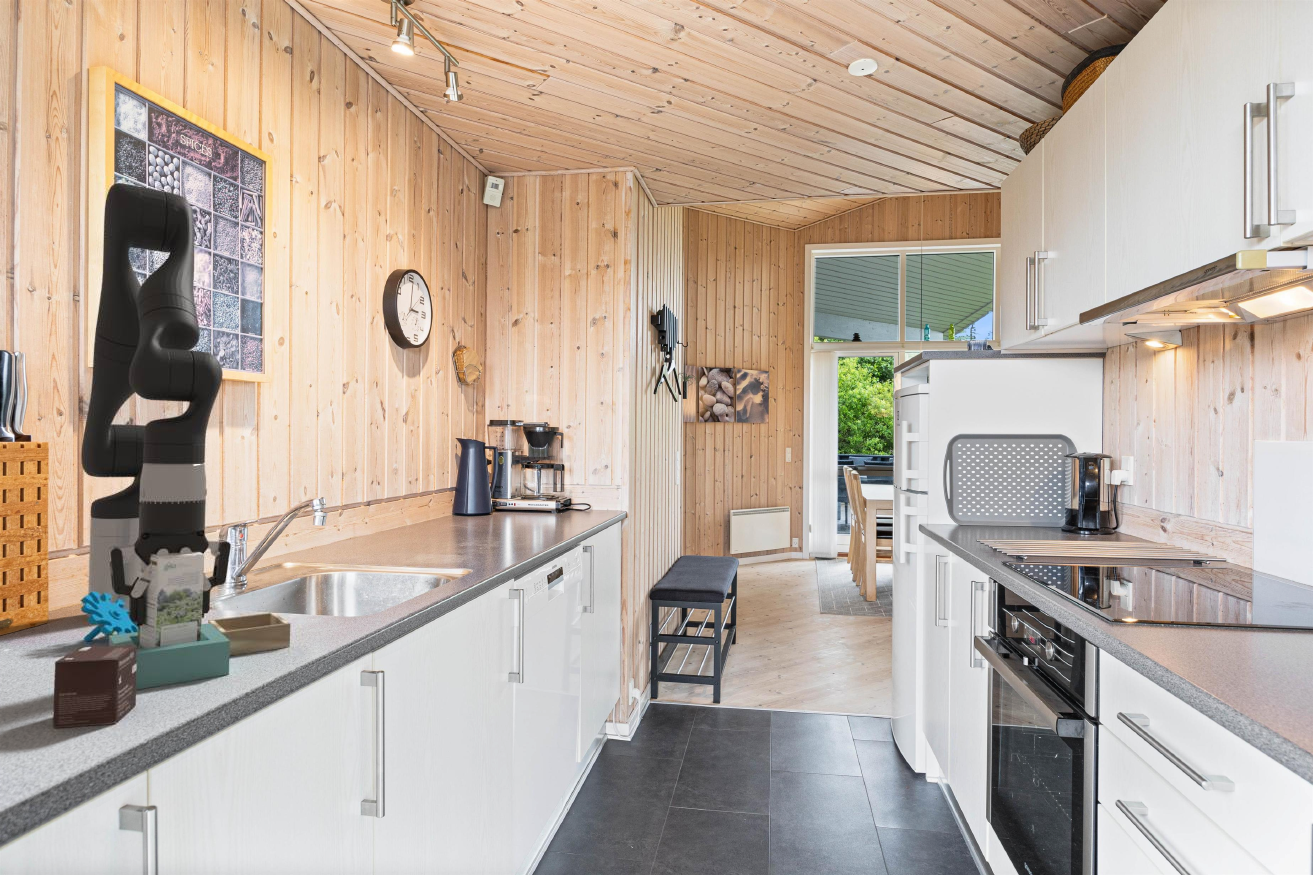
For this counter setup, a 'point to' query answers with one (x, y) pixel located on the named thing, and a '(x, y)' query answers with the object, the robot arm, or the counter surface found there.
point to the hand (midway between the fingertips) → (169, 620)
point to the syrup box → (172, 600)
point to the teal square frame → (179, 658)
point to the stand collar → (254, 632)
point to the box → (94, 686)
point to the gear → (106, 615)
